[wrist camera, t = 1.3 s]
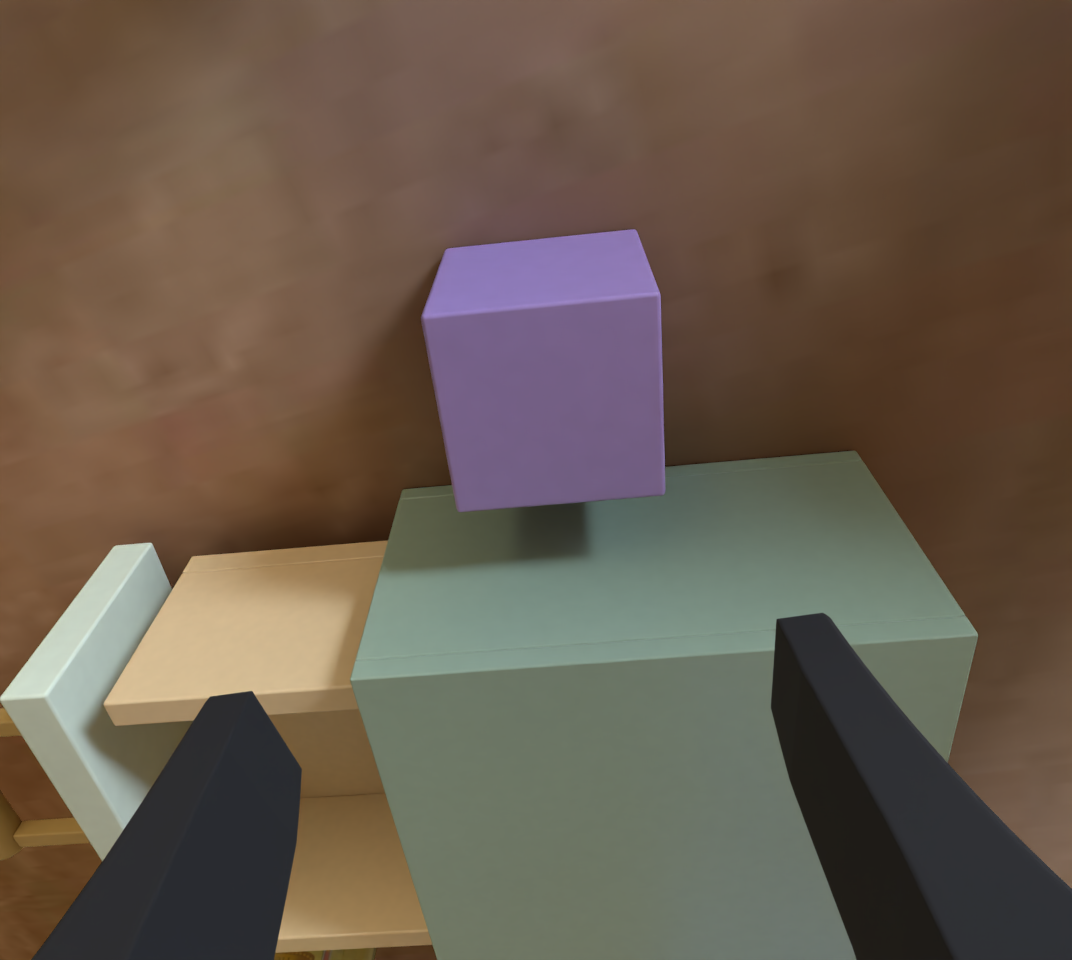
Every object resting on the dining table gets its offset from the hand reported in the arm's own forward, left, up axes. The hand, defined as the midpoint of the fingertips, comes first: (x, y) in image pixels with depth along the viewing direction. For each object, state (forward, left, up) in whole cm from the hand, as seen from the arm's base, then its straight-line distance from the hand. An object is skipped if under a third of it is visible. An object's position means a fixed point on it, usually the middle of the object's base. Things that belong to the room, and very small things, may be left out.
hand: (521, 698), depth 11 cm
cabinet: (-10, +3, -12) cm, 16 cm away
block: (0, -1, -12) cm, 12 cm away
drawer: (-4, +14, -11) cm, 18 cm away
